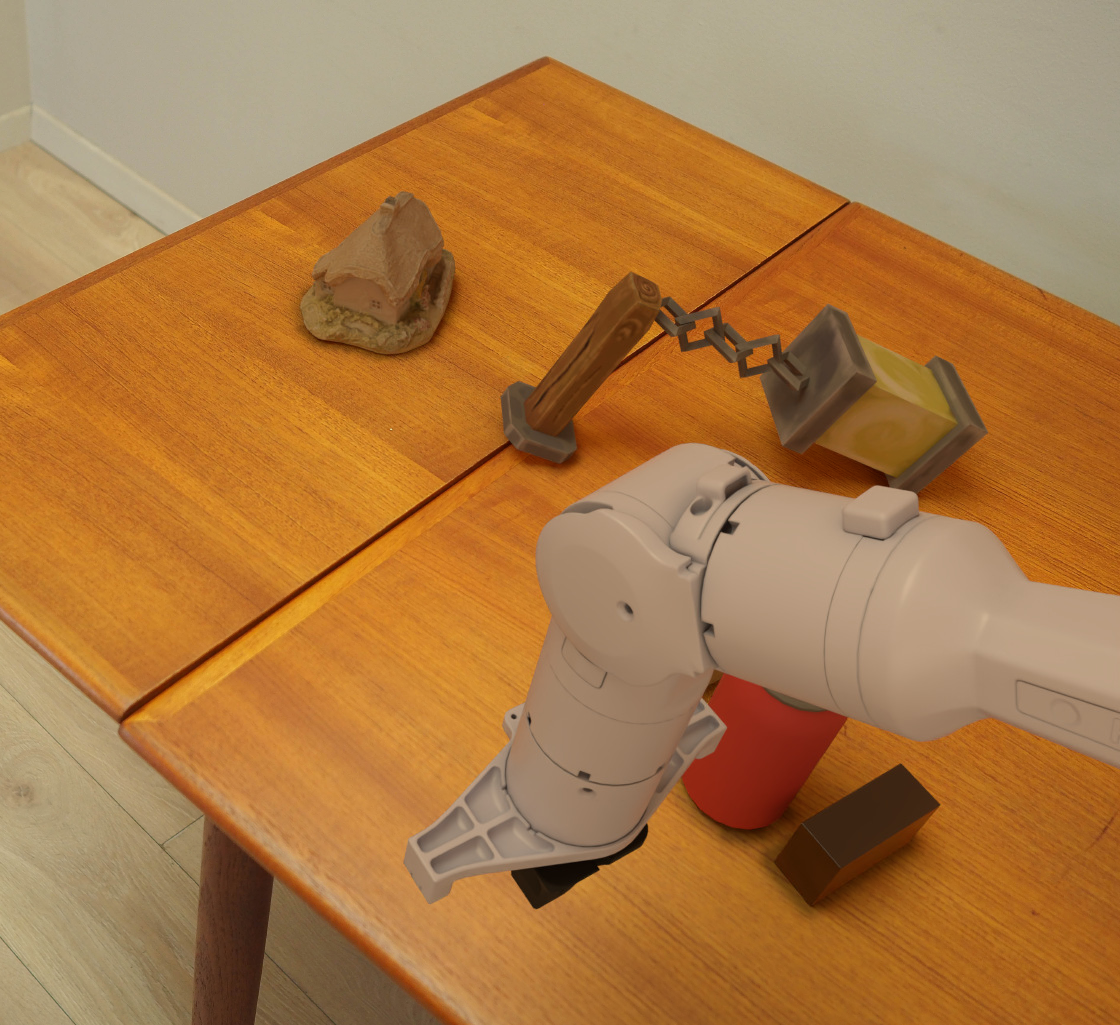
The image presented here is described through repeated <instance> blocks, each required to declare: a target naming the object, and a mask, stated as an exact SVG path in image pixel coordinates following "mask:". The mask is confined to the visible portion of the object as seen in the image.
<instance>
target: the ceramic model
mask: <svg viewBox="0 0 1120 1025" xmlns="http://www.w3.org/2000/svg"><path fill="white" fill-rule="evenodd" d="M444 247H445V240H444V237H443V235H442V230H441V229H440V227H439V225H438V223H437V221H436V220H435V218H434V217H433V214H432V212H431V210H430V208H429V206H428V205H427V204H426V202H424V201H423V200H422V199H419V198H416V197H415V194H414V193H413V192H408V191H404V190H401V191H399V192H398V193H397V194H396V195H395V196H391V195H389V196H387V197H385V199H384V201H383V202H382V203H381V204H380V205H379V208H378V209H377V210H376V211H374V212H372V214H371V215H370V216H369V217H368V218H367V219H366V220H365V221H364V222H362V223H361V224H360V225H358V226H357V227H356V228H355V229H354V230H353V231H351V233H350V234H349V235H348V236H346V238H344V240H342V241H341V242H340V243H339V244H338V245H337V247H334V248H332V249H331V250H329V251H328V252H326V253H324V254H323V255H321V256H320V257H319V258H318V260H317V261H316V263H315V264H314V265H313V269H312V272H311V278H312V279H313V281H312V286H311V287H310V288H309V289H308V291H307V292H306V293H305V294H304V295H303V297H302V298H301V301H300V306H299V309H300V310H301V315H302V318H303V323H304V326H305V327H306V330H307V331H309V333H311V334H312V336H314V337H315V338H317V339H319V340H322V341H329V342H336V343H343V344H346V345H350V346H353V347H359V348H361V349H364V350H368V351H370V352H374V353H377V354H379V355H380V354H382V355H396V354H402V353H407V352H409V351H412V350H414V349H418V348H420V347H421V346H424V345H426V344H427V343H429V342H430V341H431V339H432V338H433V336H434V335H435V332H436V330H437V329H438V326H439V325H440V323H441V320H442V319H443V317H444V316H445V312H446V310H447V306H448V304H449V301H450V297H451V294H452V289H453V282H454V279H455V278H456V276H455V275H456V261H455V258H454V254H453V253H452V251H450V250H448V249H446V248H444Z"/></svg>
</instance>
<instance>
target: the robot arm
mask: <svg viewBox="0 0 1120 1025" xmlns="http://www.w3.org/2000/svg"><path fill="white" fill-rule="evenodd" d="M535 570H536V577H537V580H538V585H539V588H540V592H541V594H542V596H543V599H544V602H545V604H546V607H547V608H548V611H549V612H550V614H551V618H550V621H549V624H548V626H547V631H546V634H545V637H544V640H543V644H542V647H541V650H540V653H539V657H538V659H537V663H536V666H535V669H534V673H533V675H532V679H531V682H530V685H529V689H528V692H527V695H526V699H525V701H524V702H523V703H520V704H518V705H516V706H514V707H511V708H509V709H508V710H507V711H505V713H504V716H503V720H502V724H501V727H502V729H503V731H504V733H505V734H506V736H507V737H508V740H509V741H508V742H507V743H506V744H505V745H504V747H502V748H501V750H500V751H499V752H498V753H497V754H496V755H495V756H494V758H493V759H492V760H491V761H490V762H489V763H488V764H487V765H486V766H485V767H484V768H483V770H482V771H480V773H479V774H478V775H477V776H476V778H474V780H473V781H472V782H471V783H470V784H469V785H468V786H467V787H466V789H464V790H463V791H462V793H461V794H460V795H459V796H458V797H457V798H456V799H455V800H454V801H453V802H452V804H451V805H449V807H448V808H447V810H445V811H444V812H442V814H441V815H440V816H439V817H438V818H437V819H436V820H434V822H432V823H431V824H430V825H428V826H427V827H425V828H424V829H422V830H421V831H419V832H417V833H415V834H413V835H412V836H410V837H409V838H407V844H406V848H405V852H404V858H403V861H402V862H403V865H404V866H405V868H406V870H407V871H408V873H409V875H410V877H411V878H412V880H413V882H414V883H415V885H416V887H417V888H418V890H419V892H420V893H421V894H422V896H423V897H424V899H425V901H426V903H427V904H428V905H433V904H434V903H437V902H438V901H440V900H442V899H444V898H445V897H448V895H450V894H451V892H452V888H453V884H454V883H455V882H457V881H459V880H462V879H467V878H471V877H476V876H482V875H490V874H497V873H504V872H510V876H511V877H512V879H513V880H514V882H515V883H516V885H517V887H518V888H519V889H520V891H521V892H522V894H523V896H524V897H525V898H526V900H527V901H528V902H529V904H530V906H531V908H533V909H534V910H539V909H541V908H543V907H544V906H546V905H547V904H550V903H551V902H553V901H554V900H557V899H559V898H560V897H562V896H563V895H566V893H568V892H569V891H570V890H571V889H572V888H573V887H575V886H576V885H577V884H578V883H580V882H582V881H584V880H586V879H587V878H590V877H591V876H593V875H594V874H596V873H598V872H599V871H600V870H601V869H600V867H601V866H611V865H612V864H614V863H616V862H617V861H619V860H620V859H622V858H624V857H626V856H628V855H629V854H632V853H633V852H635V851H636V850H638V849H640V848H641V847H642V846H643V845H644V843H645V841H646V839H647V837H648V835H649V824H648V822H649V821H650V819H651V818H652V817H653V815H654V814H655V813H656V812H657V810H658V809H659V807H661V805H662V804H663V802H664V801H665V799H666V798H667V797H668V795H669V794H670V793H671V791H673V789H674V787H675V786H676V785H677V783H678V782H679V781H680V780H681V779H682V775H683V774H684V773H685V771H686V770H687V769H688V767H689V766H690V765H691V763H692V762H693V761H694V759H695V758H696V759H702V758H703V757H705V756H707V755H709V754H711V753H713V752H714V751H715V749H716V747H717V746H718V744H719V742H720V740H721V738H722V736H723V735H724V733H725V731H726V729H727V726H726V725H725V724H724V723H723V722H722V720H721V719H720V718H719V717H718V716H717V715H716V713H715V712H714V711H713V710H712V709H711V708H710V707H709V705H708V703H707V702H706V701H705V699H704V698H703V696H704V693H705V692H706V691H707V690H706V689H707V688H708V686H709V685H708V684H709V682H710V679H711V677H712V674H713V671H714V669H715V670H718V671H721V672H723V673H726V674H729V675H732V676H734V677H737V678H740V679H743V680H746V681H748V682H751V683H754V684H757V685H760V686H762V687H765V688H768V689H771V690H773V691H776V692H779V693H782V694H785V695H787V696H790V697H793V698H796V699H799V700H801V701H804V702H807V703H810V704H812V705H815V706H818V707H821V708H824V709H826V710H829V711H832V712H835V713H838V714H840V715H843V716H846V717H848V718H849V719H851V720H854V721H857V722H861V723H863V724H866V725H869V726H871V727H874V728H876V729H880V730H883V731H886V732H889V733H891V734H892V733H893V734H894V735H897V736H900V737H901V738H902V737H903V738H906V739H908V740H911V741H913V742H914V741H915V742H917V743H918V742H920V743H924V742H925V743H927V742H934V741H936V740H940V739H943V738H946V737H947V736H950V735H952V734H954V733H956V732H957V731H959V730H961V729H962V728H965V727H967V726H968V725H971V724H974V723H976V722H979V721H983V720H987V719H994V720H996V721H998V722H1002V723H1003V724H1007V725H1009V726H1011V727H1014V728H1016V729H1018V730H1020V731H1023V732H1027V733H1028V734H1031V735H1034V736H1036V737H1038V738H1040V739H1044V740H1046V741H1049V742H1051V743H1053V744H1056V745H1059V746H1061V747H1063V748H1066V749H1069V750H1071V751H1074V752H1076V753H1078V754H1081V755H1083V756H1086V757H1088V758H1091V759H1093V760H1096V761H1098V762H1101V763H1104V764H1106V765H1108V766H1111V767H1113V768H1116V769H1118V770H1120V595H1117V594H1111V593H1105V592H1099V591H1094V590H1087V589H1082V588H1081V589H1080V588H1075V587H1070V586H1063V585H1057V584H1051V583H1044V582H1037V581H1032V580H1030V579H1029V578H1028V576H1027V575H1026V574H1025V572H1024V571H1023V570H1022V568H1021V567H1020V566H1019V564H1018V563H1017V562H1016V560H1015V559H1014V557H1013V556H1012V555H1011V553H1010V552H1009V551H1008V549H1007V548H1006V546H1005V544H1004V543H1003V541H1002V540H1001V539H1000V538H998V536H997V535H996V533H994V532H993V531H992V530H991V529H989V528H988V527H987V526H985V525H984V524H982V523H980V522H977V521H972V520H966V519H960V518H956V517H950V516H946V515H941V514H937V513H931V512H926V511H921V510H920V507H919V496H918V494H915V493H914V492H911V491H906V490H900V489H895V488H890V486H889V487H888V486H883V485H873V486H871V487H870V488H869V489H867V490H865V491H864V492H863V493H861V494H860V495H858V496H857V497H855V498H854V497H849V496H844V495H840V494H834V493H828V492H823V491H818V490H813V489H808V488H803V487H797V486H792V485H787V484H784V483H778V482H773V481H771V480H770V479H769V478H768V476H766V474H765V473H764V472H763V471H762V470H761V469H759V467H757V466H756V465H754V463H751V461H750V460H748V459H747V458H746V457H744V456H742V455H740V454H738V453H735V452H734V451H731V450H727V449H724V448H720V447H719V448H718V447H716V446H712V445H709V444H706V443H698V442H685V443H680V444H677V445H674V446H671V447H670V448H668V449H666V450H664V451H662V452H660V453H659V454H657V455H655V456H653V457H652V458H650V459H649V460H647V461H645V462H643V463H641V464H639V465H638V466H636V467H635V468H633V469H631V470H629V471H627V472H625V473H624V474H623V475H620V476H619V477H617V478H616V479H615V478H614V480H612V481H610V482H608V483H606V484H605V485H603V486H601V487H600V488H598V489H596V490H594V491H593V492H591V493H589V494H587V495H586V496H584V497H582V498H580V499H578V500H576V501H574V502H573V503H571V504H569V505H568V506H567V507H565V508H564V509H563V510H562V511H561V513H560V514H558V515H556V516H554V517H553V518H552V519H550V520H549V521H547V523H545V525H544V526H543V528H542V529H541V531H540V533H539V535H538V539H537V542H536V547H535Z"/></svg>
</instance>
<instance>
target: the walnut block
mask: <svg viewBox="0 0 1120 1025" xmlns="http://www.w3.org/2000/svg"><path fill="white" fill-rule="evenodd" d="M940 807H941V803H940V802H939V801H938V800H937V799H936V798H935V797H934V796H933V795H932V794H931V793H930V791H928V790H927V788H926V787H925V786H924V785H923V784H922V783H921V782H920V781H919V780H918V779H917V778H916V777H915V776H914V774H912V773H911V771H909V769H908V768H907V767H905V765H904V764H903V763H901V762H900V763H898V764H897V765H895V766H894V767H891V768H890V769H889V770H886V771H885V772H883V773H882V774H880V775H878V776H877V777H875V778H873V779H872V780H870V781H869V782H866V783H865V784H864V785H862V786H860V787H858V788H857V789H855V790H854V791H851V792H850V793H849V794H847V795H845V796H844V797H841V798H840V799H839V800H837V801H835V802H833V803H832V804H830V805H829V806H826V807H825V808H824V809H822V810H820V811H818V812H817V813H815V814H813V815H812V816H810V817H808V818H807V819H806V820H803V821H802V822H801V823H800V824H799V825H798V827H797V828H796V830H795V831H794V833H793V834H792V836H790V838H789V840H788V841H787V842H786V844H785V845H784V847H783V848H782V850H781V851H780V852H779V854H778V855H777V856H776V858H775V860H774V864H775V865H776V866H777V868H778V869H779V870H780V871H781V872H782V874H783V875H784V876H785V877H786V879H787V880H788V881H789V883H791V885H792V886H793V887H794V888H795V890H796V891H797V892H798V893H799V894H800V896H801V897H802V898H803V899H804V900H805V902H806V903H807V904H808V905H809V906H810V907H812V906H814V905H815V904H817V903H819V902H820V901H822V900H823V899H824V898H826V897H827V896H829V895H830V894H832V893H834V892H835V891H838V889H840V888H841V887H843V886H845V885H846V884H848V883H849V882H851V881H852V880H854V879H856V878H857V877H859V876H860V875H861V874H863V873H865V872H866V871H867V870H870V869H871V868H873V867H874V866H875V865H877V864H878V863H880V862H881V861H883V860H885V859H886V858H888V857H889V856H891V855H892V854H894V853H896V852H897V851H899V850H901V849H902V848H904V847H905V846H906V845H908V844H909V843H910V842H911V840H912V839H913V838H914V837H915V836H916V834H918V832H919V831H920V830H921V829H922V828H923V826H924V825H925V824H926V823H927V822H928V820H930V818H931V817H932V816H933V815H934V814H935V813H936V812H937V810H938V809H939V808H940Z"/></svg>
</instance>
